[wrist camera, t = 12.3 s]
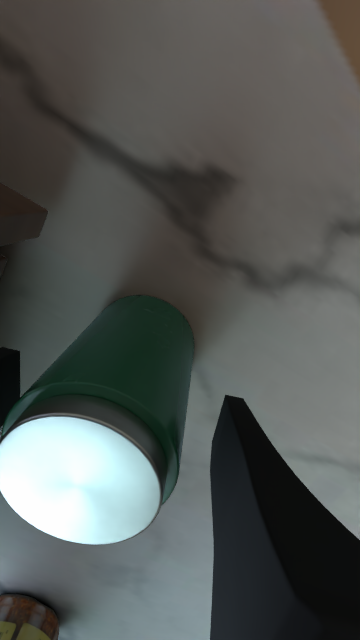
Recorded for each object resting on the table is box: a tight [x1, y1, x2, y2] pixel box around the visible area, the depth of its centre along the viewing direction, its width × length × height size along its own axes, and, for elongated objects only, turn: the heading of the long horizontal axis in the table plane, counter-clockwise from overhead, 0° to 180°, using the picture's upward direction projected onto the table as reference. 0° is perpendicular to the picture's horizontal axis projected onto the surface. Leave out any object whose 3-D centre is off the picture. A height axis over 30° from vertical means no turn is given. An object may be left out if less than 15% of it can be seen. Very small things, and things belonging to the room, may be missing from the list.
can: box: [0, 295, 194, 545], centre depth 11 cm, size 5×5×8 cm
